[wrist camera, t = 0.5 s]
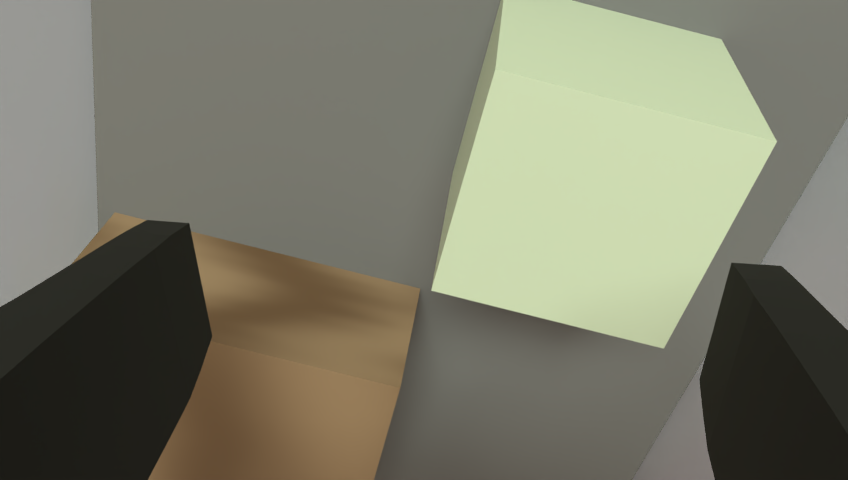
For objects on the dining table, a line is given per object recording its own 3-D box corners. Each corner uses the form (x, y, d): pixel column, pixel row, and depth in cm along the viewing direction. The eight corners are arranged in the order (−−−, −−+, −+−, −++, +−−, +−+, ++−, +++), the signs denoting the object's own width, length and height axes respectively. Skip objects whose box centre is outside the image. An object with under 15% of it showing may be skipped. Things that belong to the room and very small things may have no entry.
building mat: (901, 8, 17) (908, 14, 17) (592, 534, 29) (593, 544, 28) (93, -204, 17) (84, -202, 16) (109, 417, 28) (104, 425, 28)
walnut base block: (420, 288, 23) (400, 388, 19) (366, 480, 28) (343, 584, 24) (114, 212, 22) (42, 299, 19) (118, 419, 28) (61, 516, 24)
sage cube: (721, 39, 18) (776, 141, 13) (638, 219, 20) (663, 348, 16) (505, -18, 17) (495, 69, 13) (452, 172, 20) (431, 290, 16)
